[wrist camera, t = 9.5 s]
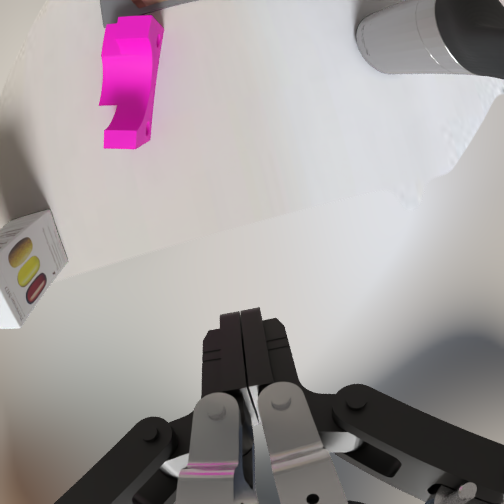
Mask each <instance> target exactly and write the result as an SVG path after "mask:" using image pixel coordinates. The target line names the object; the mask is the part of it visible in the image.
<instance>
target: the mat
mask: <svg viewBox="0 0 504 504" xmlns="http://www.w3.org/2000/svg"><path fill="white" fill-rule="evenodd" d="M193 1H197V0H167V1H163V2H159V3H156V4H152V5H149V6H146V7H142V8H138V7H137V6H136V5H135V4H134V3H133V2H132V1H131V0H100V5H101V12H102V19H103V26H104V28H106V24H115V23H117V22H118V17H125V16H140V15H143V14H146V13H150V12H153V11H156V10H160V9H164V8H167V7H171V6H175V5H179V4H184V3H188V2H193Z"/></svg>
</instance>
